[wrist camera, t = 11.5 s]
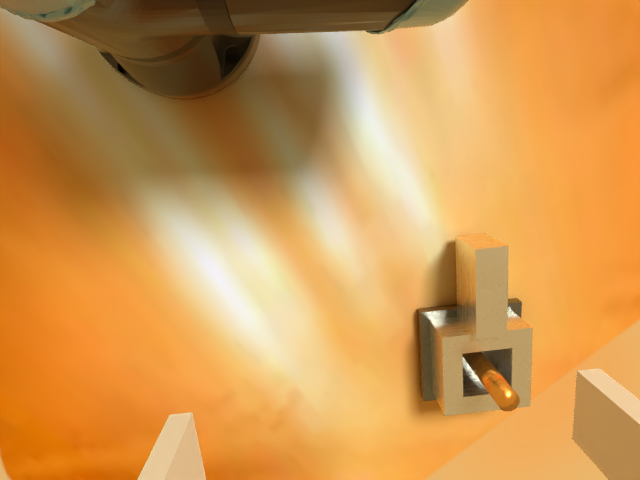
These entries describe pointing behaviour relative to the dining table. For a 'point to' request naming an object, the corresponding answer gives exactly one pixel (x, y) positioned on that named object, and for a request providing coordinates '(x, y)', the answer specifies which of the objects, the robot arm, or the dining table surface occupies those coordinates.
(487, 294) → the square loop with stem
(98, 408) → the dining table surface
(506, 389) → the peg on square plate
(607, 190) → the dining table surface
